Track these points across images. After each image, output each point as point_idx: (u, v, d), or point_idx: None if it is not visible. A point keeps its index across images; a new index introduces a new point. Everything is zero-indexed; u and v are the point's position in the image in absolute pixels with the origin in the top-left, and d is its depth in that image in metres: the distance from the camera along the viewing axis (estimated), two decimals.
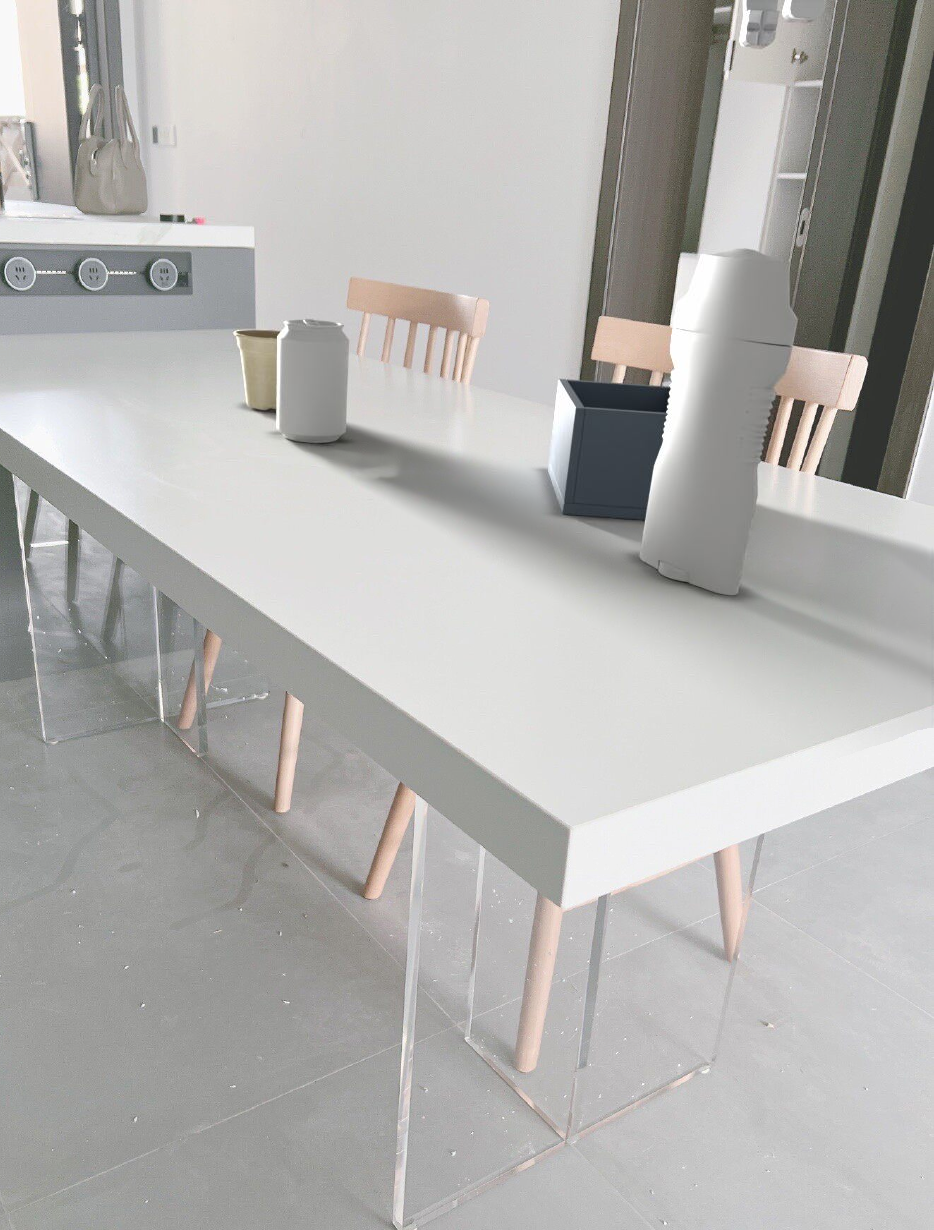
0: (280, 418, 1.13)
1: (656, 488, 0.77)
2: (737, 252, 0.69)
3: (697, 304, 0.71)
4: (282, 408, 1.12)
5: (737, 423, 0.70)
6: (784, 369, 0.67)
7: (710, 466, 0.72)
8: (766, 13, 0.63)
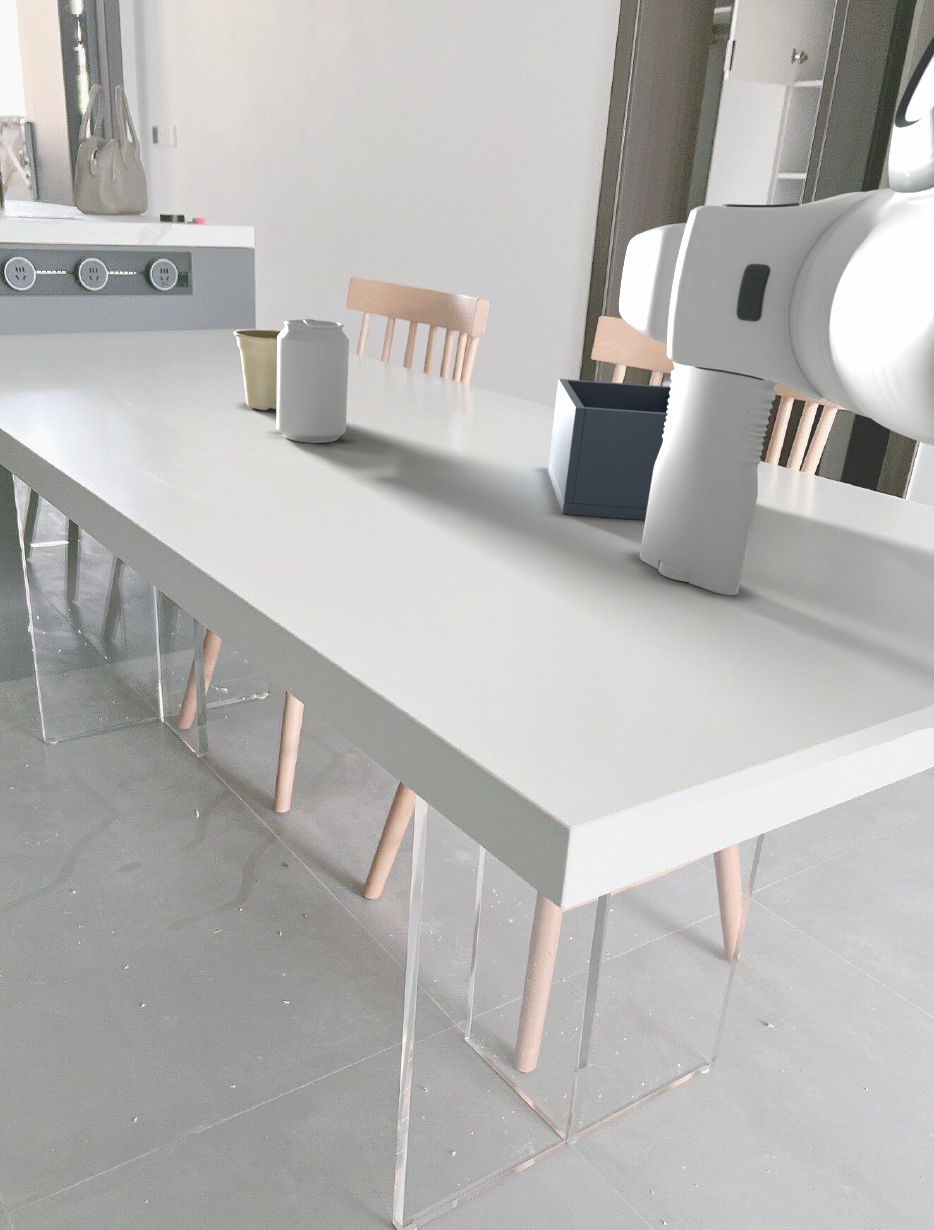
0: (280, 418, 1.13)
1: (656, 488, 0.77)
2: None
3: None
4: (282, 408, 1.12)
5: (737, 423, 0.70)
6: None
7: (710, 466, 0.72)
8: None
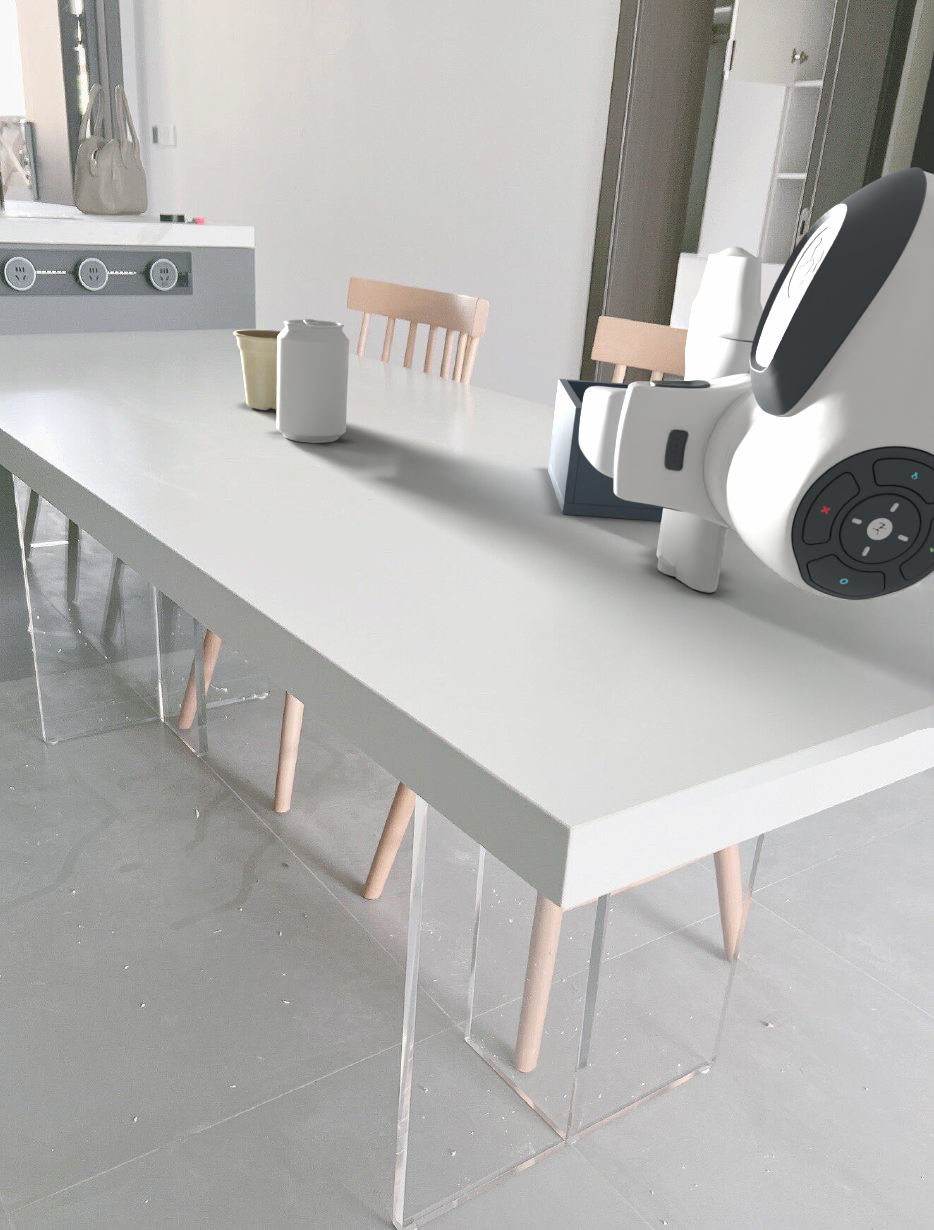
0: (280, 418, 1.13)
1: None
2: (727, 250, 0.69)
3: (698, 302, 0.72)
4: (282, 408, 1.12)
5: None
6: (748, 365, 0.67)
7: None
8: None
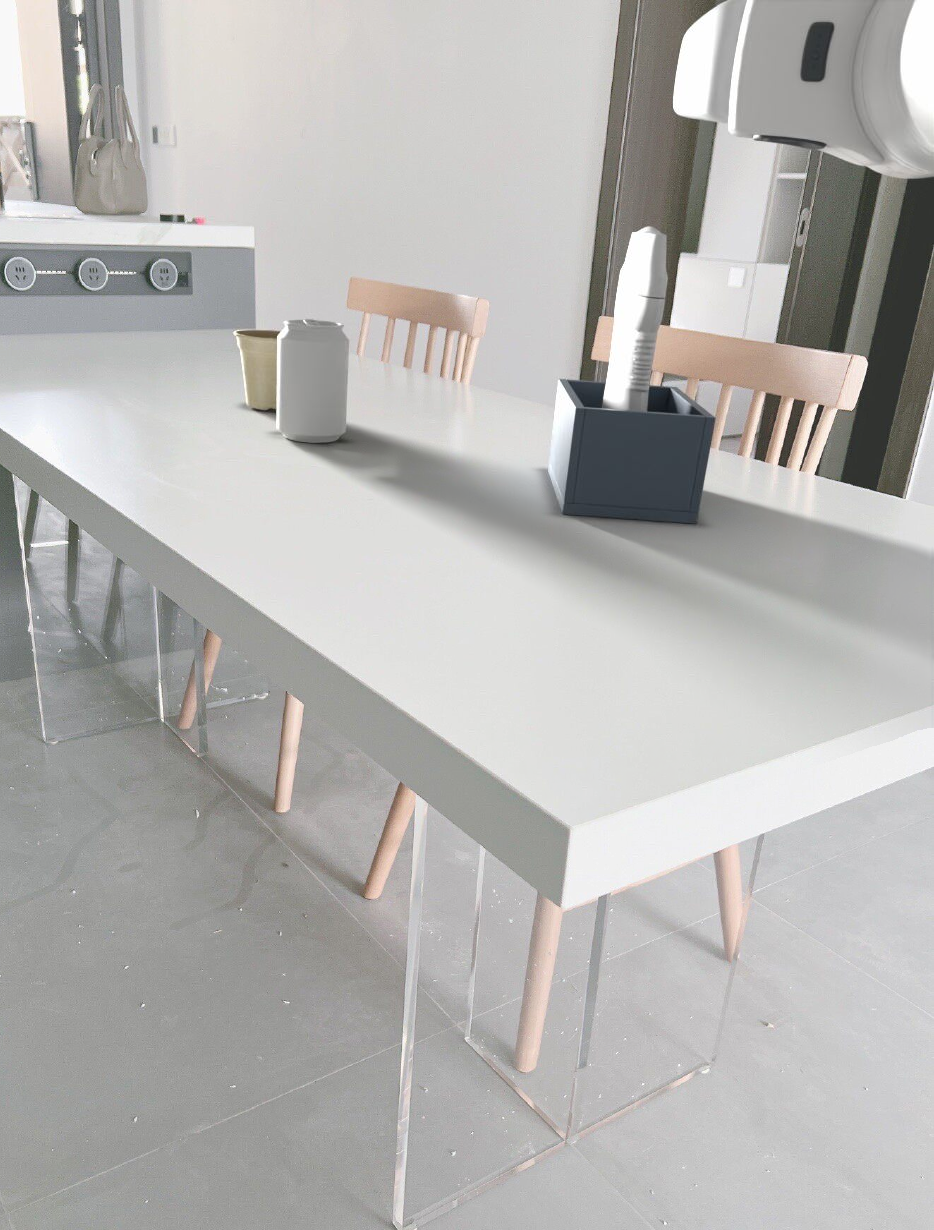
0: (280, 418, 1.13)
1: None
2: (643, 229, 0.91)
3: (623, 270, 0.94)
4: (282, 408, 1.12)
5: (630, 358, 0.92)
6: (656, 316, 0.88)
7: (617, 393, 0.94)
8: None
